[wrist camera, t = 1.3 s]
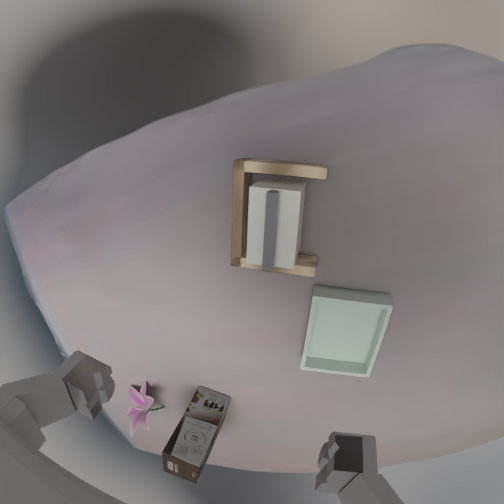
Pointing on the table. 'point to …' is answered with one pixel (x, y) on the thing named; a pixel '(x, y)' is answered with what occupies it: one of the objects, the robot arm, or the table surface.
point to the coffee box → (195, 435)
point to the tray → (345, 330)
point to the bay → (241, 202)
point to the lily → (139, 408)
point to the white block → (275, 223)
